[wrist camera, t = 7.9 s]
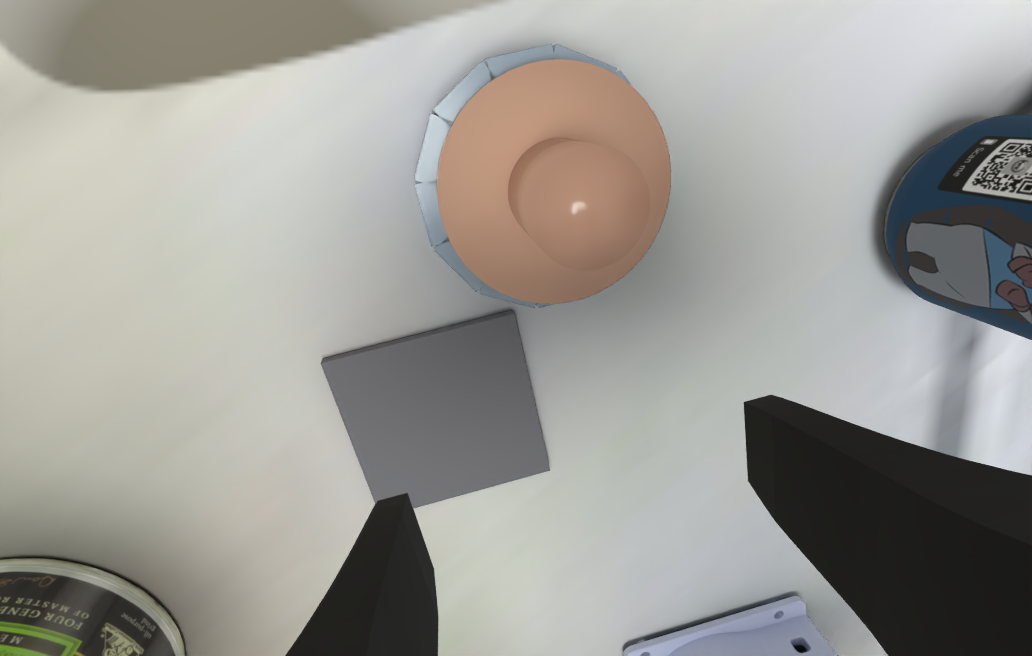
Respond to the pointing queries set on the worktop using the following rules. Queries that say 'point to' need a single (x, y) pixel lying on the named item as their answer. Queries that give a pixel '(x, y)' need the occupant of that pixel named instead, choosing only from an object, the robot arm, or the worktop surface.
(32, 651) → the coffee can
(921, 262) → the soda can
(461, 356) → the coaster
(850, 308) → the worktop surface
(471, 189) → the lid
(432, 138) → the bowl
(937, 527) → the robot arm
